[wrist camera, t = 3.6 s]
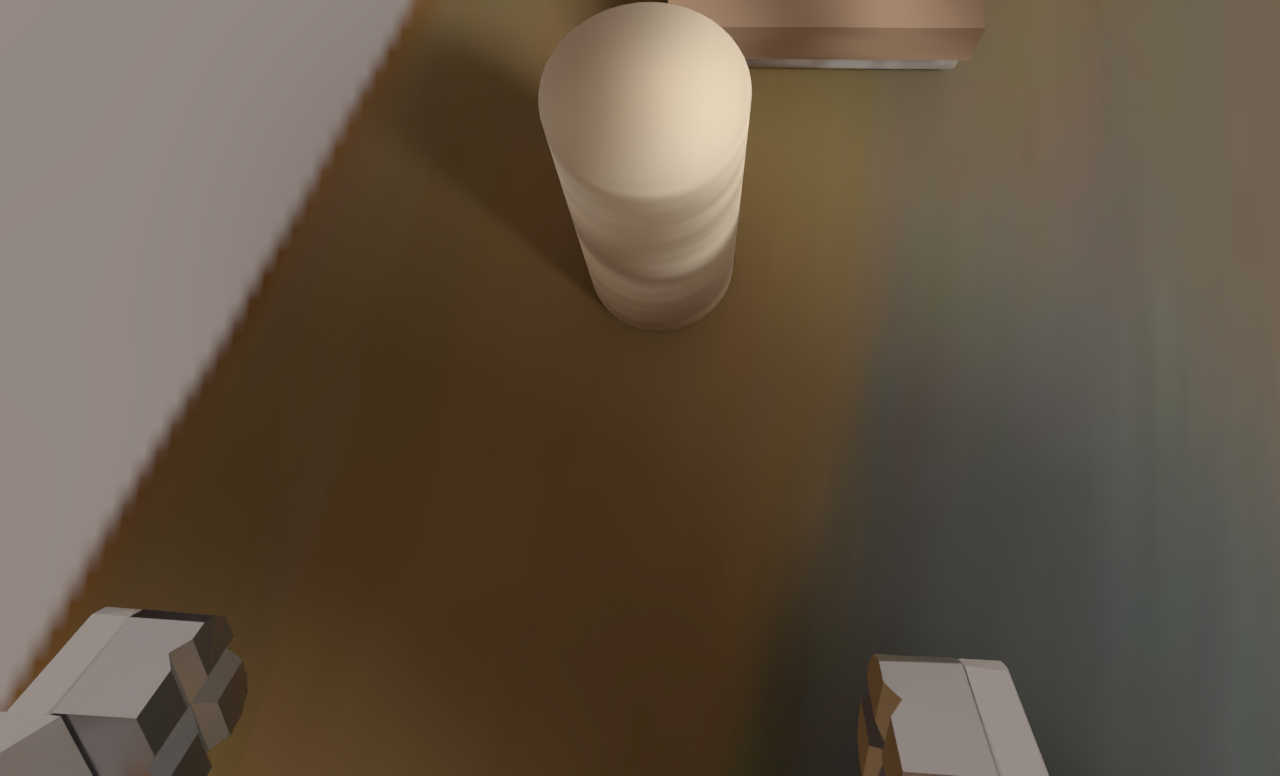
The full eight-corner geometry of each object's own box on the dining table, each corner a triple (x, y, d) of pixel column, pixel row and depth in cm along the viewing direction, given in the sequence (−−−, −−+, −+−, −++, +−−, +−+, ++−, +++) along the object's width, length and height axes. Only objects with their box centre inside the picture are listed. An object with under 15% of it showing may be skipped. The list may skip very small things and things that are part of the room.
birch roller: (735, 200, 30) (754, 2, 20) (730, 333, 28) (749, 192, 19) (595, 197, 30) (547, 1, 20) (585, 329, 29) (529, 187, 19)
